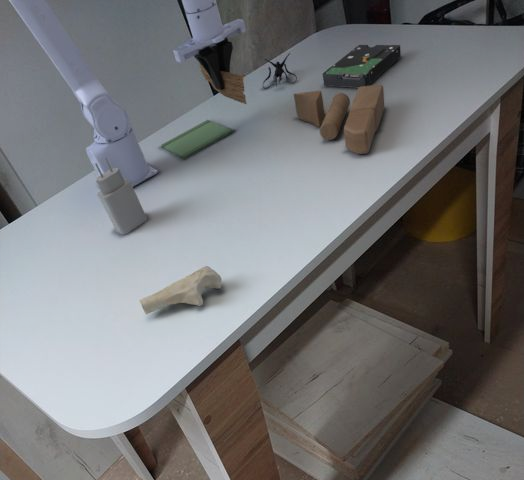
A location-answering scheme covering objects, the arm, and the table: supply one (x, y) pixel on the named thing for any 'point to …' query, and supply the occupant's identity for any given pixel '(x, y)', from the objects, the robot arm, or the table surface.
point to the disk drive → (361, 65)
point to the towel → (196, 139)
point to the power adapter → (119, 200)
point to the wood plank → (229, 85)
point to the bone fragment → (183, 290)
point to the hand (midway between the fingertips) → (223, 86)
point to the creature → (278, 71)
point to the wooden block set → (358, 122)
